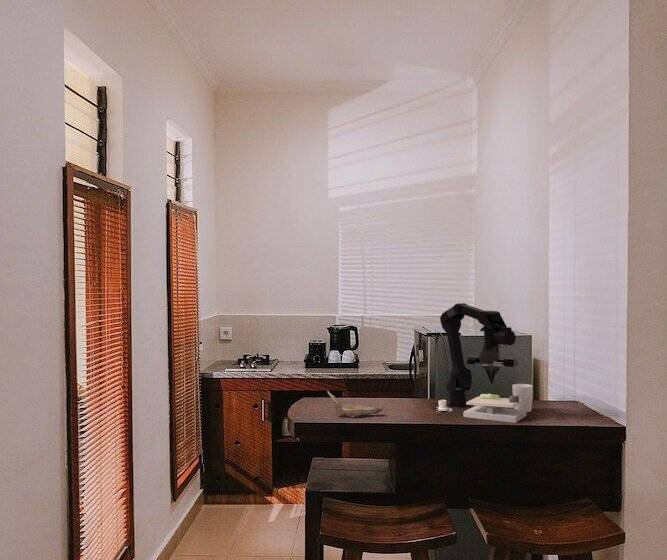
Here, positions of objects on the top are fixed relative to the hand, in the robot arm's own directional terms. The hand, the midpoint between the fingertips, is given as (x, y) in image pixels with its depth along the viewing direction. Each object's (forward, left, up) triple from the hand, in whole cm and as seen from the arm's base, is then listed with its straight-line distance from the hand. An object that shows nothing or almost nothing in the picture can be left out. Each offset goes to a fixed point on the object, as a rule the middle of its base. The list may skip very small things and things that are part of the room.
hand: (492, 383), depth 240 cm
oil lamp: (-45, -29, -12) cm, 55 cm away
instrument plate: (+2, -3, -7) cm, 8 cm away
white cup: (+8, +13, -12) cm, 20 cm away
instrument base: (+2, -3, -12) cm, 13 cm away
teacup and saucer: (-22, -4, -13) cm, 26 cm away
